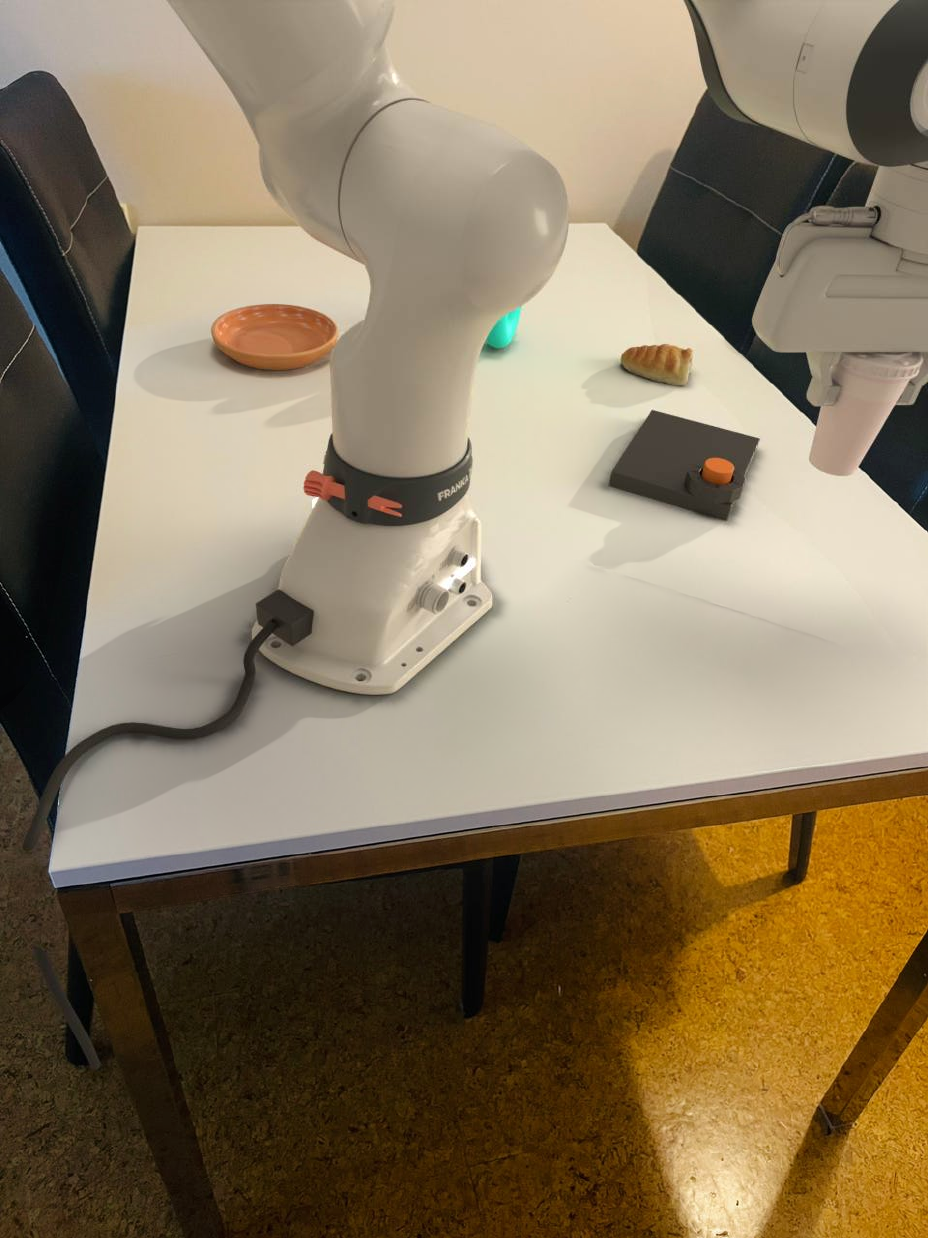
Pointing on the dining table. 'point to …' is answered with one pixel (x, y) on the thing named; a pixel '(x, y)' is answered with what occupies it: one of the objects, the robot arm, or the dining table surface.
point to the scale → (684, 464)
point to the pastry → (659, 363)
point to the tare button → (717, 471)
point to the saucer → (274, 335)
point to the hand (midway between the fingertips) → (859, 402)
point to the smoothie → (859, 407)
